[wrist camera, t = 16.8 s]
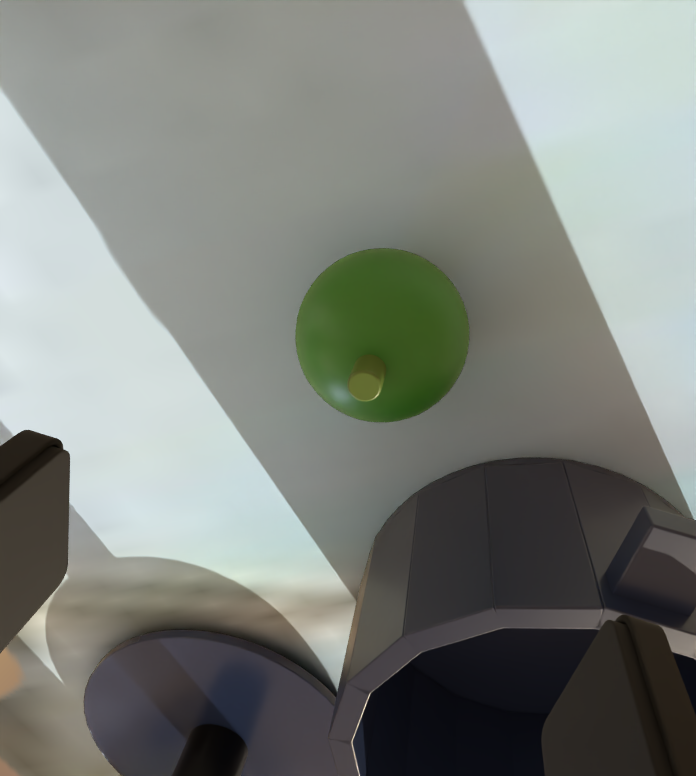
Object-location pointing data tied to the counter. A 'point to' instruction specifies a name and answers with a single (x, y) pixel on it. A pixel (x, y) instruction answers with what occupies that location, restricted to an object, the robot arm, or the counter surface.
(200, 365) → the counter surface
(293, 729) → the pan lid
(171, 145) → the counter surface
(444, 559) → the pan
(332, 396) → the pepper
